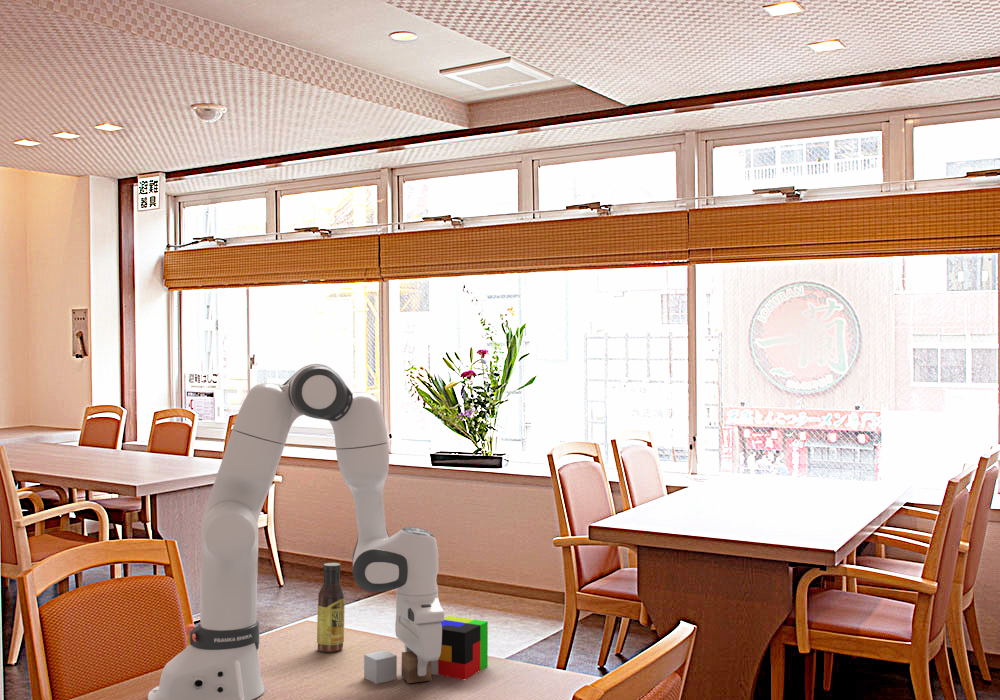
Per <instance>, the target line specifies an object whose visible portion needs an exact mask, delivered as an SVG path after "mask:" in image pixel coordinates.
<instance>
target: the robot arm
mask: <svg viewBox="0 0 1000 700" xmlns="http://www.w3.org/2000/svg"><path fill="white" fill-rule="evenodd" d="M301 416H305V417H308V418H313V419H316V420H325V421H328V422H329V423H330V425H331V427H332V430H333V434H334V441H335V442H334V444H335V451H336V452H335V453H336V459H337V460H336V461H337V464H338V468H339V471H340V475H341V478H342V480H343V482H344V483H345V484H346V486H347V488H348V489H349V491H350V492H351V493H350V494H351V495H352V498H353V502H354V510H355V518H356V527H357V539H356V543H355V546H354V549H353V553H352V576H353V577H352V578H353V579H354V582H355V584H357V586H358V587H359V588H360V589H362V590H364V591H365V592H368V593H381V592H386V591H391V590H395V589H396V590H395V591H396V595H395V597H396V599H395V600H396V601H395V608H396V609H395V611H396V612H395V627H394V629H395V630H394V632H395V636H396V639H398V640H399V641H401V642H402V643H403V645H404V652H409V651H413V652H414V653H415V654H416V655H417V659H418V666H416V673H417V674H418V675H419V676H425V675H426V667H427V664H428V661H435V660H438V659H439V657H440V654H441V644H442V625H441V621H444V618H445V611H444V609H443V607H442V606H441V603H440V599H439V587H438V583H437V576H438V574H439V573H438V572H439V551H438V550H439V549H438V541H437V538H436V537H435V535H434V534H433V533H432V532H431V531H429V530H427V529H424V528H420V527H414V526H409V527H408V526H406V527H401V528H400V530H398V531H397V532H396V533H395V534H393V535H391V536H390V535H389V533H388V529H387V524H386V523H387V522H386V514H385V505H384V504H385V503H384V488H385V484H386V481H387V478H388V474H389V466H390V447H389V438H388V432H387V427H386V420H385V417H384V414H383V410H382V407H381V403H380V402H379V400H378V399H377V397H376V396H374V395H372V394H370V393H366V392H361V391H360V392H357V391H356V392H352V391H351V390H350V388H349V386H347V384H346V383H345V381H344V379H343V378H342V377H341V376H340V374H338V373H337V372H336V371H335V370H334V369H333V368H331V367H330V366H327V365H324V364H321V363H313V364H312V363H311V364H308V365H305V366H303V367H301V368H300V369H298V370H297V371H296V372H295V373H294V374H293V375H291V377H289V379H287V380H286V381H285V382H284V383H283V384H281V385H280V384H274V383H270V382H269V383H267V382H264V383H259V384H257V385H255V386H253V387H252V388H251V389H250V390H249V391H248V393H247V395H246V396H245V398H244V400H243V402H242V404H241V407H240V409H239V411H238V412H237V415H236V418H235V421H234V423H233V426H232V429H231V431H230V436H229V437H228V440H227V441H228V442H227V445H226V448H225V449H224V450H225V451H224V454H223V457H222V459H221V462H220V466H219V469H218V471H217V474H216V476H215V478H214V479H215V480H214V483H213V485H212V488H211V491H210V494H209V497H208V498H207V502H206V505H205V508H204V511H203V513H202V517H201V520H200V521H201V522H200V599H199V600H200V607H199V608H200V609H199V610H200V615H199V617H200V619H199V620H200V621H199V624H198V625H197V626H196V625H195V624H193V623H189V624H187V625H186V627H185V632H186V635H187V636H189V645H188V646H187V647H185V648H184V649H182V650H181V652H179V653H178V654H177V655H176V656H174V657H173V658H172V659H170V660H169V661H168V662H167V663H166V664H165V665H164V666H163V669H162V672H161V674H160V675H161V676H160V681H159V683H158V684H159V685H157V686H155V687H154V688H152V689H151V690H149V692H148V695H147V700H255V699H256V698H258V697H260V696H262V694H264V692H265V689H266V688H265V685H264V682H263V678H262V674H261V669H260V662H259V652H258V651H259V648H260V647H259V646H260V623H259V621H258V617H257V616H258V615H257V613H258V610H257V609H258V602H257V600H258V598H257V597H258V595H257V594H258V586H257V585H258V569H259V568H258V566H259V564H258V563H259V524H258V522H259V518H260V515H261V512H262V511H263V510H262V509H263V506H264V505H265V503H266V502H265V501H266V499H267V496H268V494H269V491H270V489H271V486H272V484H273V482H274V480H275V476H276V473H277V471H278V468H279V465H280V461H281V458H282V454H283V451H284V449H285V444H286V443H287V438H288V436H289V433H290V430H291V427H292V425H293V423H294V422H295V420H297V419H298V418H299V417H301Z"/></svg>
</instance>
